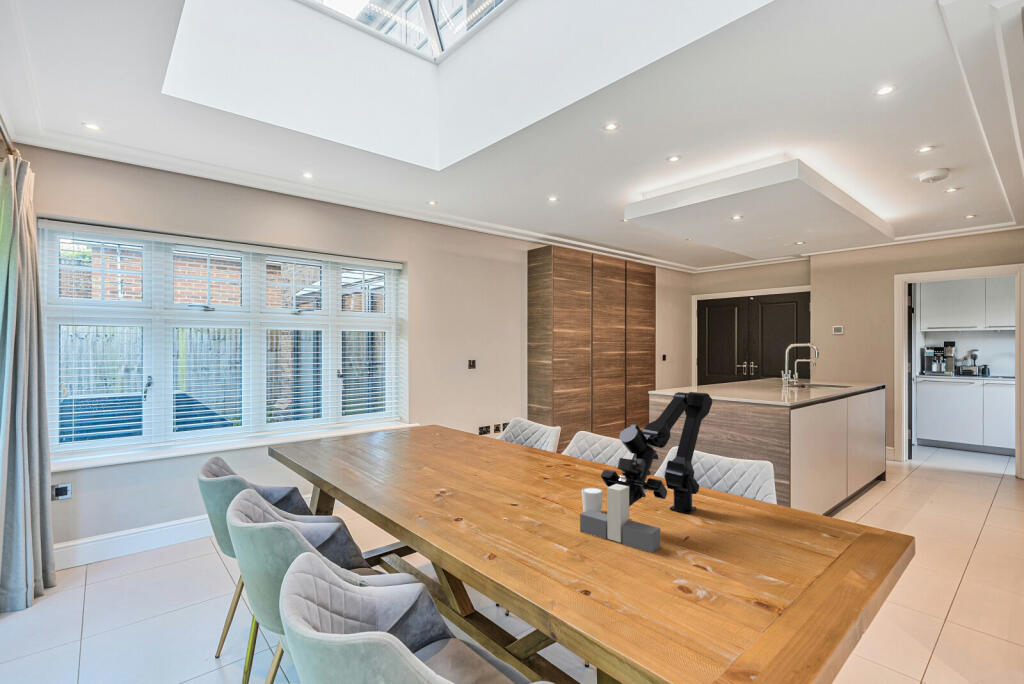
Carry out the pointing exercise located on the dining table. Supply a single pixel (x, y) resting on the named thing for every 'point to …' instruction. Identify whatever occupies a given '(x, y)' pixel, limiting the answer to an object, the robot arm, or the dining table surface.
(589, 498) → the shot glass
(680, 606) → the dining table surface
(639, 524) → the grey blocks
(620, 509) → the peg block
